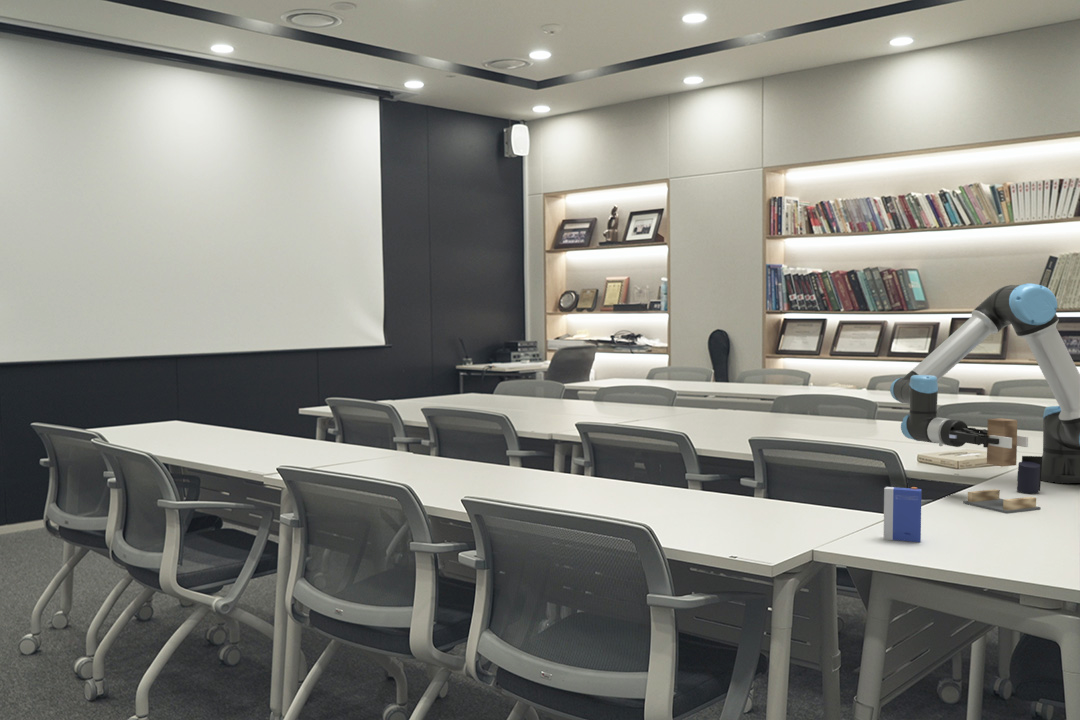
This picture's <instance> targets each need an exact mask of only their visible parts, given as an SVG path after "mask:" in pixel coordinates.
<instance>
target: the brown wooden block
mask: <svg viewBox="0 0 1080 720" xmlns="http://www.w3.org/2000/svg"><path fill="white" fill-rule="evenodd" d="M986 430H987V435H988V437H989V435H995V436H1002V437H1009V438H1012V448H1004V447H997V446H991V445H989V443H988V448H986V464H988V465H992V466H996V467H997V466H999V467H1013V466H1017V458H1018V457H1017V454H1018V453H1017V452H1018V448H1017V447H1018V446H1017V435H1018V420H1017V419H1011V418H1002V417H1001V418H1000V417H999V418H987V428H986Z"/></svg>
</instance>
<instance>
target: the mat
mask: <svg viewBox="0 0 1080 720" xmlns="http://www.w3.org/2000/svg"><path fill="white" fill-rule="evenodd" d="M1003 500H1005V499H1003V498H1000V497H999V499H997V500H988V501H978V502H969V501H968V500H962V501H963V502H962V503H963V504H964V503H965V505H969V504H970V506H974V507H977V508H981V509H986V510H991V511H994V512H995V511H996V512H1000V513H1004V514H1013V513H1014V514H1015V513H1020V512H1021V513H1022V512H1031V511H1039V510H1041V507H1040V506H1037V505H1036V507H1034V508H1025V509H1016V510H1004V509H1003Z"/></svg>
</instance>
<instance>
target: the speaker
mask: <svg viewBox="0 0 1080 720" xmlns="http://www.w3.org/2000/svg"><path fill="white" fill-rule="evenodd" d="M1017 467H1018V470H1017V477H1016V478H1017V480H1016V481H1017V483H1016V491H1018V492H1019V493H1022V494H1028V495H1036V494H1039V492H1040V491H1041V484H1042V482H1041V481H1042V480H1041V471H1042V455H1041V456H1040V455H1038V456H1037V455H1034V456H1032V455H1022V456H1021V461H1019V462H1018V466H1017Z"/></svg>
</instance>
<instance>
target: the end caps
mask: <svg viewBox="0 0 1080 720" xmlns="http://www.w3.org/2000/svg"><path fill="white" fill-rule="evenodd" d="M1000 493H1001V492H1000V490H999V489H995V488H994V489H985V490H984V489H983V490H976V491H975V490H973V491H967V501H969V502H978V501H988V500H997V499H999V498H1000ZM1036 506H1037V497H1035V496H1034V497H1033V496H1027V497H1018V498H1016V497H1015V498H1008V499H1005V500H1003V509H1004V510H1016V509H1025V508H1034V507H1036Z"/></svg>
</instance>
